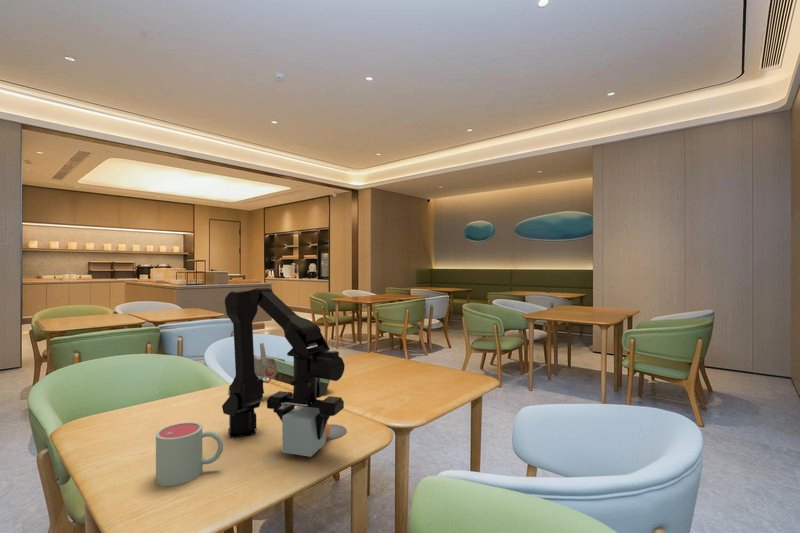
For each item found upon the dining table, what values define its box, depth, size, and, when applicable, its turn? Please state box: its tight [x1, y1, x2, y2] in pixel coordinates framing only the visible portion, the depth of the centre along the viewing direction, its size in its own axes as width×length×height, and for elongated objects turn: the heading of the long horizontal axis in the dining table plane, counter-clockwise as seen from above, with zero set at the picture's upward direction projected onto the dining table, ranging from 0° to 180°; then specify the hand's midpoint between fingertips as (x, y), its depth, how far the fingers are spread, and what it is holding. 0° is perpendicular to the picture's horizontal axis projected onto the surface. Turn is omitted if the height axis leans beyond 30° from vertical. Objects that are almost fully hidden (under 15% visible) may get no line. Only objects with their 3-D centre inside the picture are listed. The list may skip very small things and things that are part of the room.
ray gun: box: [227, 342, 331, 397], centre depth 143 cm, size 7×32×20 cm, turn 111°
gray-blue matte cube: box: [281, 406, 327, 458], centre depth 100 cm, size 8×8×9 cm
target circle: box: [326, 423, 347, 441], centre depth 113 cm, size 10×10×1 cm
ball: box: [326, 422, 330, 438], centre depth 108 cm, size 5×5×5 cm
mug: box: [155, 421, 224, 487], centre depth 90 cm, size 14×9×10 cm
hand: (305, 437), depth 100 cm, fingers closed on gray-blue matte cube, 8 cm apart
